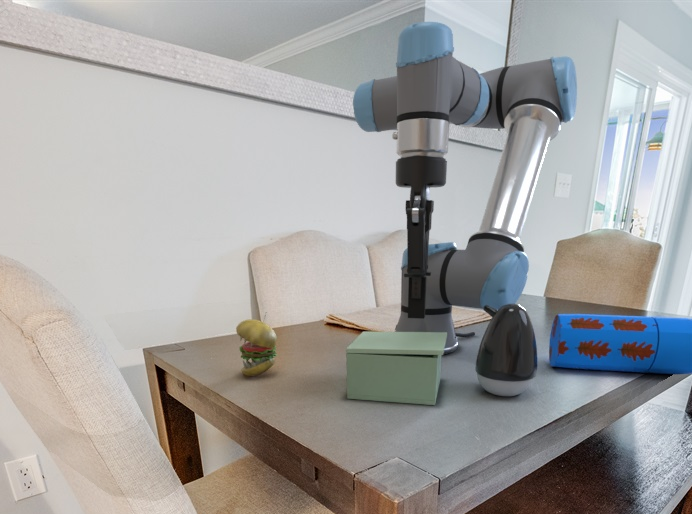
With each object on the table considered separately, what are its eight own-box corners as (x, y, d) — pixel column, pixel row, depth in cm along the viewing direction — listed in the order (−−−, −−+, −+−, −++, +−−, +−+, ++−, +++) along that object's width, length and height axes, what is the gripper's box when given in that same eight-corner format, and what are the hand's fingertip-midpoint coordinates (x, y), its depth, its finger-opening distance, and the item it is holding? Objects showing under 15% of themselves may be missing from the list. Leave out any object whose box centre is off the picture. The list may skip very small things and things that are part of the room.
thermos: (555, 373, 90) (696, 382, 86) (563, 319, 86) (711, 325, 82) (546, 358, 100) (672, 365, 96) (553, 309, 96) (685, 314, 92)
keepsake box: (440, 380, 86) (442, 339, 83) (434, 405, 74) (437, 358, 71) (363, 375, 88) (363, 335, 85) (347, 398, 77) (346, 353, 74)
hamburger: (245, 368, 92) (239, 308, 88) (282, 368, 92) (277, 308, 88) (236, 381, 85) (229, 316, 80) (275, 380, 85) (270, 316, 81)
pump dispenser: (492, 378, 87) (500, 296, 82) (544, 391, 80) (557, 304, 75) (460, 390, 81) (467, 303, 75) (514, 406, 74) (525, 311, 68)
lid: (447, 336, 82) (447, 332, 82) (443, 355, 71) (443, 350, 71) (363, 335, 85) (363, 331, 85) (346, 353, 74) (346, 348, 74)
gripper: (402, 162, 74) (399, 309, 83) (388, 152, 62) (387, 324, 71) (449, 161, 73) (441, 310, 81) (444, 150, 61) (436, 326, 70)
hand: (416, 317), depth 76 cm, fingers closed
